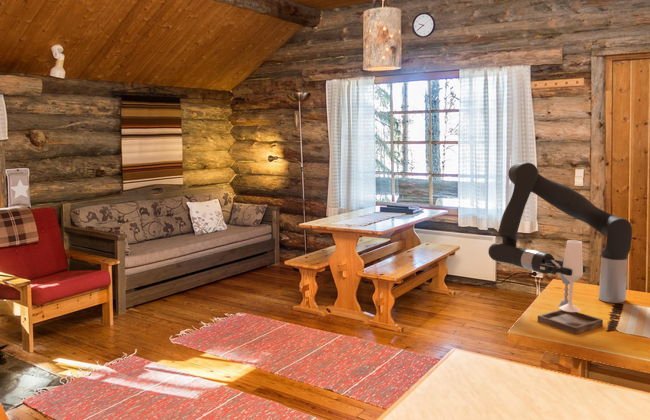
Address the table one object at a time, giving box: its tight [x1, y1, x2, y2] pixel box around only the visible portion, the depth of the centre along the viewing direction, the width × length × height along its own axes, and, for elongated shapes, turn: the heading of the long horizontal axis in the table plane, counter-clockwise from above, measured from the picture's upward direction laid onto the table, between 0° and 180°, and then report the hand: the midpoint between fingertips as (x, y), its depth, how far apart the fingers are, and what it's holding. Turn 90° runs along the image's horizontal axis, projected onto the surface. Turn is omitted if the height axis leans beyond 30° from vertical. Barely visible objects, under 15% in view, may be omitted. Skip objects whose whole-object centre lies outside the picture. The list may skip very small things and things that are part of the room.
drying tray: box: [537, 308, 604, 335], centre depth 200 cm, size 15×15×2 cm
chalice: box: [558, 257, 570, 308], centre depth 218 cm, size 7×7×18 cm
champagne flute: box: [558, 239, 584, 313], centre depth 197 cm, size 7×7×24 cm
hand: (578, 271), depth 195 cm, fingers closed on champagne flute, 6 cm apart
